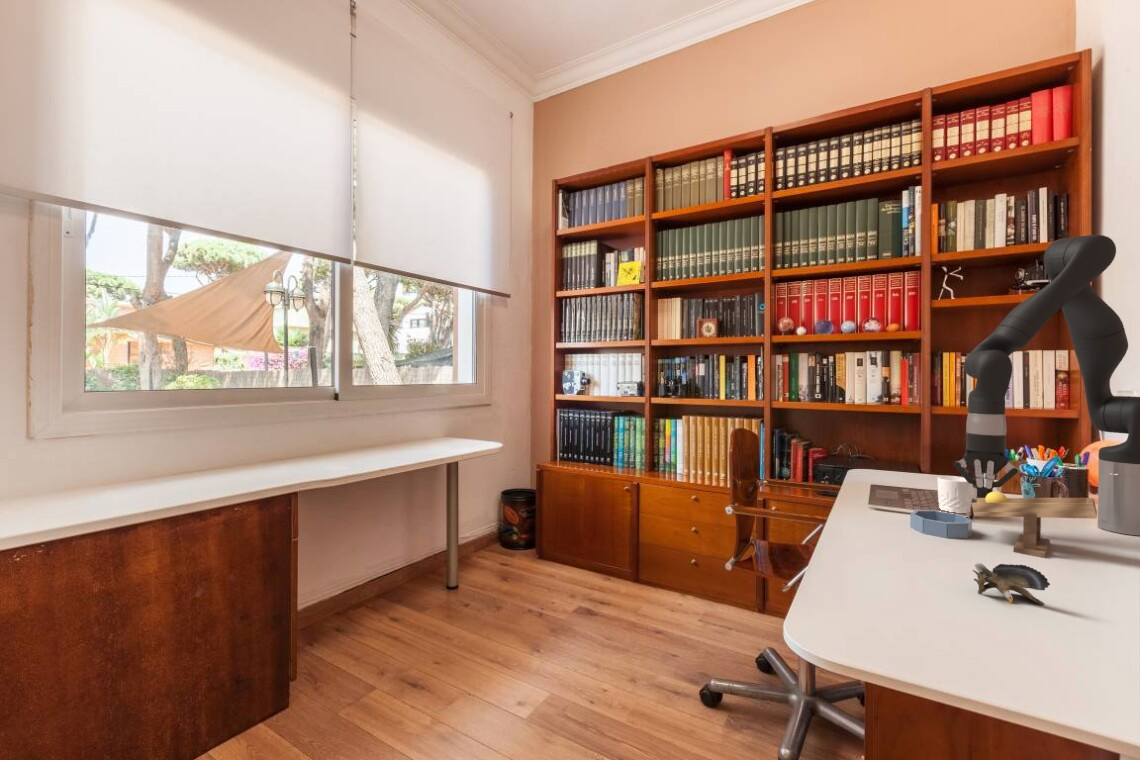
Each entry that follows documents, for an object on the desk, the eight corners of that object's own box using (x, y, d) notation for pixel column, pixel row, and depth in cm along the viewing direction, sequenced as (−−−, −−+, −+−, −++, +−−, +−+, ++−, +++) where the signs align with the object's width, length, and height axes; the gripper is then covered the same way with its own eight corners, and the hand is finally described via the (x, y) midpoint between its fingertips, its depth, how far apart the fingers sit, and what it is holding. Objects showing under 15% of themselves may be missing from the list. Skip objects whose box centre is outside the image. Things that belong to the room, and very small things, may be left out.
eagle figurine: (990, 600, 84) (1058, 598, 81) (973, 556, 88) (1037, 553, 85) (980, 609, 90) (1043, 608, 87) (964, 567, 94) (1024, 565, 91)
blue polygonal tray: (906, 530, 126) (906, 516, 126) (918, 521, 134) (918, 507, 134) (965, 541, 117) (965, 526, 117) (974, 531, 125) (974, 516, 125)
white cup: (960, 511, 143) (960, 476, 143) (979, 519, 136) (980, 481, 136) (930, 510, 144) (930, 475, 144) (948, 518, 136) (948, 481, 136)
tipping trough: (971, 517, 118) (968, 502, 119) (981, 507, 127) (978, 494, 128) (1096, 519, 104) (1092, 503, 104) (1097, 508, 112) (1094, 493, 113)
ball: (997, 507, 120) (992, 490, 120) (1014, 508, 116) (1009, 490, 116) (983, 509, 119) (979, 492, 120) (1000, 511, 115) (995, 493, 116)
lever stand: (1013, 551, 111) (1013, 512, 111) (1020, 538, 120) (1021, 502, 119) (1044, 557, 107) (1045, 517, 107) (1049, 543, 116) (1050, 506, 116)
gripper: (949, 430, 126) (948, 500, 127) (1020, 435, 117) (1018, 511, 117) (955, 428, 131) (954, 495, 132) (1023, 433, 122) (1022, 505, 122)
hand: (984, 502), depth 124 cm, fingers closed
